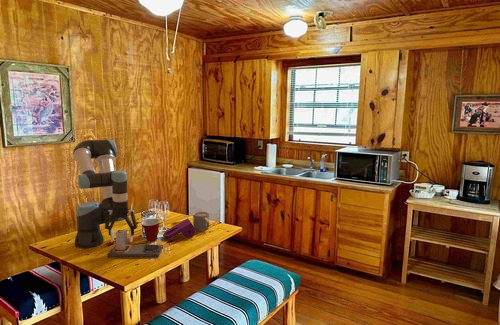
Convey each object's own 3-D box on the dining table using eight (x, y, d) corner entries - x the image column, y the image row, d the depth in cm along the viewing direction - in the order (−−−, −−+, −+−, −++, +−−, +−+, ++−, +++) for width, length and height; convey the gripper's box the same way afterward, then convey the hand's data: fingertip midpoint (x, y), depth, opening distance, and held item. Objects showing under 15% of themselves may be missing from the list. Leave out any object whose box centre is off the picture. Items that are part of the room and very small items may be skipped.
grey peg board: (107, 257, 178) (107, 253, 178) (115, 248, 190) (115, 244, 190) (158, 257, 180) (158, 253, 179) (163, 248, 191) (163, 244, 191)
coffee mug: (191, 227, 225) (190, 212, 223) (205, 225, 230) (205, 210, 229) (198, 234, 214) (198, 218, 212) (213, 231, 219) (213, 216, 217)
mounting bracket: (170, 249, 204) (197, 234, 209) (164, 238, 201) (191, 222, 206) (168, 244, 212) (193, 228, 217) (161, 233, 210) (187, 218, 215)
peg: (116, 254, 182) (115, 232, 180) (119, 250, 186) (118, 229, 184) (125, 254, 182) (124, 232, 180) (127, 250, 187) (126, 229, 185)
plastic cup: (140, 238, 204) (139, 219, 202) (158, 236, 209) (157, 217, 207) (143, 245, 194) (143, 225, 193) (162, 242, 200) (162, 222, 198)
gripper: (96, 202, 176) (98, 243, 179) (139, 202, 177) (140, 243, 180) (101, 198, 183) (103, 238, 186) (143, 198, 184) (144, 238, 188)
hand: (121, 241), depth 183 cm, fingers open, 9 cm apart
